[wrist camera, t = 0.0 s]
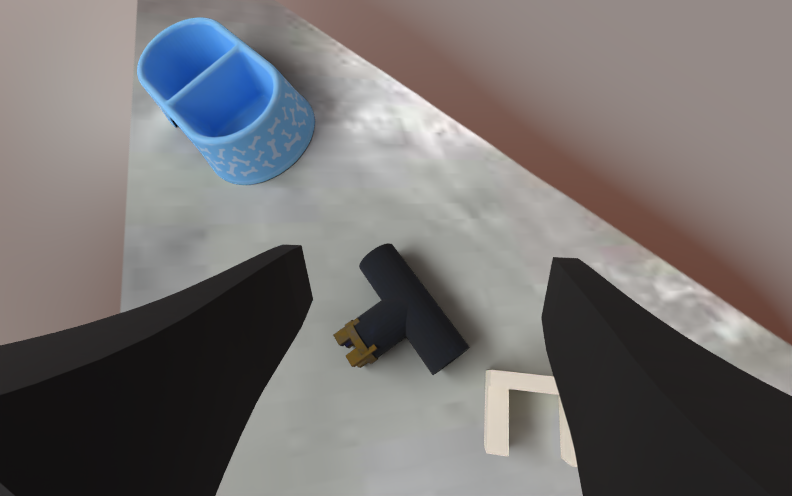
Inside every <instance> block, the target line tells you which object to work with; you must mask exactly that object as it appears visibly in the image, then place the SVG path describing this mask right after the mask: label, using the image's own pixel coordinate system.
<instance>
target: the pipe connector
mask: <svg viewBox="0 0 792 496" xmlns="http://www.w3.org/2000/svg"><path fill="white" fill-rule="evenodd" d="M359 267H360V269H361V271H362V272H363V274H364V275H365V277H366V278H367V280H368V281H369V282H370V284H371V285H372V287H373V288H374V290H375V291H376V293H377V294H378V296H379V297H380V299H381V300H382V301H380V302H379V303H377V304H376V305H375V306H373V307H372V308H370V309H369V310H368V311H366V312H365V313H363V314H362V315H361V316H359V317H358V318H356V319H355V320H351V321H350V322H348V323H347V324H346V325H345V327H344V328H342V329H341V330H339V331H338V332H337V333H335V334H334V337H335V339H336V341H337V342H338V344H339V345H340V346H344V345H345V346H346V347H347V348H350V347H352V346H353V345H355V347H356V348H355V349H354V350H353V351H351V352H350V353H348V354H347V355H346V358H347V359H348V361H349V363H350V364H351V366H352V367H356V366H358V367H359V368H361V367H363V366H364V365H365V364H367V363H370V364H372V363H373V362H375V361H376V360H377V359H378V357H379V356H380V355H382V354H383V353H385V352H386V351H387V350H389V349H390V348H391V347H393V346H394V345H395V344H397V343H398V342H400V341H401V340H402V339H404V338H405V337H407V338H408V340H409V341H410V343H411V344H412V346H413V347H414V348H415V350H416V351H417V353H418V354H419V356H420V357H421V359H422V360H423V362H424V363H425V365H426V366H427V367H428V369H429V370H430V372H431V373H432V375H434V374H436V373H437V372H439V371H440V370H441V369H443V368H444V367H446V366H447V365H448V364H450V363H451V362H452V361H454V360H455V359H456V358H458V357H459V356H460V355H461V354H463V353H464V352H465V351H466V350H468V349H469V348H470V347H469V346H468V344H467V343H466V342H465V340H464V339H463V338H462V336H461V335H460V334H459V332H458V331H457V330H456V328H455V327H454V326H453V324H452V323H451V322H450V321H449V319H448V318H447V317H446V315H445V314H444V313H443V311H442V310H441V309H440V307H439V306H438V305H437V303H436V302H435V301H434V299H433V298H432V297H431V295H430V294H429V293H428V291H427V290H426V289H425V287H424V286H423V285H422V283H421V282H420V281H419V279H418V278H417V277H416V275H415V274H414V273H413V271H412V270H411V269H410V267H409V266H408V265H407V263H406V262H405V261H404V259H403V258H402V257H401V255H400V254H399V253H398V251H397V250H396V249H395V247H394V246H393V245H392V244H384V245H381V246H379V247H377V248H375V249H374V250H372V251H371V252H369V253H368V254H367V255H366V256H365V257H364V258H363V260H362V261H361V263H360V266H359Z"/></svg>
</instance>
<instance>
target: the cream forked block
mask: <svg viewBox="0 0 792 496" xmlns="http://www.w3.org/2000/svg"><path fill="white" fill-rule="evenodd" d="M509 389H514V390H522V391H531V392H539V393H548V394H556V395H559V393H558V389H557V386H556V382H555V379H554V377H553V376H544V375H535V374H526V373H516V372H507V371H498V370H486V385H485V431H484V447H485V450H486V453H488V454H495V455H501V456H508V457H509ZM559 419H560V443H561V458H562V459H563V460H564V461H566V462H567V463H568V464H569V465H571V466H573V467H578V466H577V461H576V456H575V450H574V446H573V442H572V438H571V434H570V430H569V427H568V423H567V420H566V416H565V413H564V410H563V406H562V403H561V399H560V396H559Z"/></svg>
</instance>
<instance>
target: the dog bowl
mask: <svg viewBox="0 0 792 496" xmlns="http://www.w3.org/2000/svg"><path fill="white" fill-rule="evenodd" d="M137 74H138V78H139V81H140V83H141V84H142V86H143V87H144V88H145V90H146V91H147V92H148V93H149V95H150V96H151V97H152V98H153V100H154V101H155V102H156V103H157V105H158V106H159V107H160V109H161V110H162V111H163V113H164V114H165V115H166V117H167V119H168V120H169V121H170V123H171V124H172V125H173V126H174V127H176V126H175V124H174V123H173V121H174V122H175V123H176V124H177V125H178V126H179V127H180V129H181V130H182V131H183V132H184V133H185V134H186V136H187V137H188V138H189V139H190V140H191V141H192V143H193V144H194V145H195V146H196V147H197V148H198V150H199V151H200V152H201V154H202V155H203V156H204V158H205V159H206V160H207V162H208V163H209V165H210V166H211V167H212V169H213V170H214V171H215V173H216V174H217V175H218V176H220V177H221V178H222V179H224V180H226V181H228V182H230V183H233V184H239V185H250V184H256V183H260V182H264V181H266V180H269V179H271V178H273V177H275V176H277V175H279V174H281V173H282V172H284V171H285V170H286V169H288V168H289V167H290V166H291V165H293V164H294V163H295V162H296V161H297V160H298V158H299V157H300V156H301V155H302V154H303V152H304V151H305V149H306V148H307V146H308V144H309V142H310V140H311V138H312V135H313V131H314V124H315V119H314V113H313V110H312V108H311V106H310V104H309V103H308V102H307V100H306V99H305V98H304V97H303V96H301V95H300V94H299V93H298V92H297V91H296V90H295V89H294V87H293V86H292V85H291V84H290V83H289V82H288V81H287V80H286V79H285V78H284V77H283V76H282V74H281V73H280V72H279V71H278V70H277V69H276V68H275V67H274V66H273V65H272V64H271V63H270V62H268V61H267V60H266V59H265V58H263V57H262V56H261V55H259V54H258V53H257V52H256V51H254V50H253V49H252V48H250V47H249V46H248V45H247V44H245V43H244V42H243V41H242V40H240V39H239V38H238V37H237V36H235V35H234V34H233V33H231V32H230V31H229V30H228V29H226V28H225V27H224V26H223V25H221V24H220V23H219V22H217V21H215V20H213V19H209V18H191V19H186V20H183V21H180V22H178V23H176V24H173V25H171V26H170V27H168V28H166V29H165V30H163V31H162V32H161V33H159V34H158V35H157V36H156V37H155V38H154V39H153V40H152V41H151V42H150V43H149V44H148V45H147V46H146V48H145V49H144V51H143V53H142V55H141V57H140V59H139V62H138V67H137ZM171 118H172V120H173V121H172V120H171Z"/></svg>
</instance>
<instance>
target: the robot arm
mask: <svg viewBox="0 0 792 496" xmlns="http://www.w3.org/2000/svg"><path fill="white" fill-rule="evenodd" d="M312 301H313V297H312V292H311V287H310V283H309V278H308V274H307V269H306V264H305V260H304V255H303V250H302V246H301V245H280V246H278V247H275V248H272V249H270V250H268V251H266V252H263V253H261V254H259V255H257V256H255V257H253V258H251V259H249V260H247V261H244V262H242V263H240V264H238V265H236V266H234V267H232V268H230V269H228V270H226V271H224V272H222V273H220V274H218V275H215V276H213V277H211V278H209V279H207V280H204V281H202V282H200V283H198V284H196V285H193V286H191V287H189V288H187V289H184V290H182V291H180V292H177V293H175V294H172V295H170V296H167V297H165V298H162V299H160V300H157V301H154V302H152V303H149V304H146V305H144V306H141V307H138V308H135V309H132V310H129V311H126V312H123V313H120V314H117V315H113V316H110V317H107V318H104V319H101V320H97V321H94V322H91V323H88V324H85V325H81V326H78V327H74V328H70V329H66V330H63V331H59V332H56V333H51V334H47V335H44V336H40V337H35V338H31V339H27V340H23V341H18V342H14V343H10V344H5V345H0V496H215V495H216V493H217V490H218V488H219V485H220V483H221V480H222V478H223V475H224V473H225V470H226V468H227V466H228V464H229V461H230V459H231V457H232V455H233V452H234V450H235V448H236V446H237V443H238V441H239V439H240V436H241V434H242V432H243V430H244V428H245V426H246V424H247V422H248V420H249V417H250V415H251V413H252V411H253V409H254V407H255V405H256V403H257V401H258V399H259V397H260V396H261V394H262V392H263V390H264V388H265V387H266V385H267V383H268V382H269V380H270V378H271V377H272V375H273V374H274V372H275V370H276V369H277V367H278V365H279V364H280V362H281V360H282V359H283V357H284V355H285V354H286V352H287V351H288V349H289V347H290V346H291V344H292V342H293V341H294V339H295V337H296V335H297V334H298V332H299V330H300V329H301V327H302V325H303V322H304V320H305V318H306V316H307V313H308V311H309V308H310V306H311V303H312ZM542 325H543V332H544V339H545V345H546V351H547V354H548V358H549V362H550V365H551V369H552V372H553V376H554V379H555V382H556V386H557V389H558V393H559V396H560V399H561V403H562V406H563V410H564V413H565V416H566V420H567V423H568V427H569V430H570V434H571V438H572V442H573V446H574V450H575V456H576V461H577V466H578V472H579V477H580V482H581V488H582V493H583V496H792V396H790V395H788V394H786V393H784V392H782V391H780V390H778V389H776V388H774V387H772V386H771V385H769V384H767V383H765V382H763V381H761V380H759V379H757V378H755V377H754V376H752V375H750V374H748V373H746V372H744V371H743V370H741V369H739V368H737V367H735V366H734V365H732V364H730V363H728V362H727V361H725V360H723V359H722V358H720V357H718V356H717V355H715V354H713V353H711V352H710V351H708V350H706V349H705V348H703V347H701V346H700V345H698V344H696V343H695V342H693V341H692V340H690V339H688V338H687V337H685V336H684V335H682V334H681V333H679V332H678V331H676V330H675V329H673V328H672V327H670V326H669V325H667V324H666V323H664V322H663V321H661V320H660V319H658V318H657V317H655V316H654V315H653V314H651V313H650V312H648V311H647V310H646V309H644V308H643V307H641V306H640V305H639V304H637V303H636V302H635V301H633V300H632V299H631V298H629V297H628V296H627V295H625V294H624V293H623V292H621V291H620V290H619V289H617V288H616V287H615V286H614V285H612V284H611V283H610V282H609V281H607V280H606V279H605V278H603V277H602V276H601V275H600V274H598V273H597V272H596V271H594V270H593V269H592V268H591V267H589V266H588V265H587V264H585V263H584V262H583V261H581V260H580V259H578V258H558V257H553V260H552V265H551V270H550V276H549V281H548V286H547V291H546V296H545V302H544V307H543V312H542Z"/></svg>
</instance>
